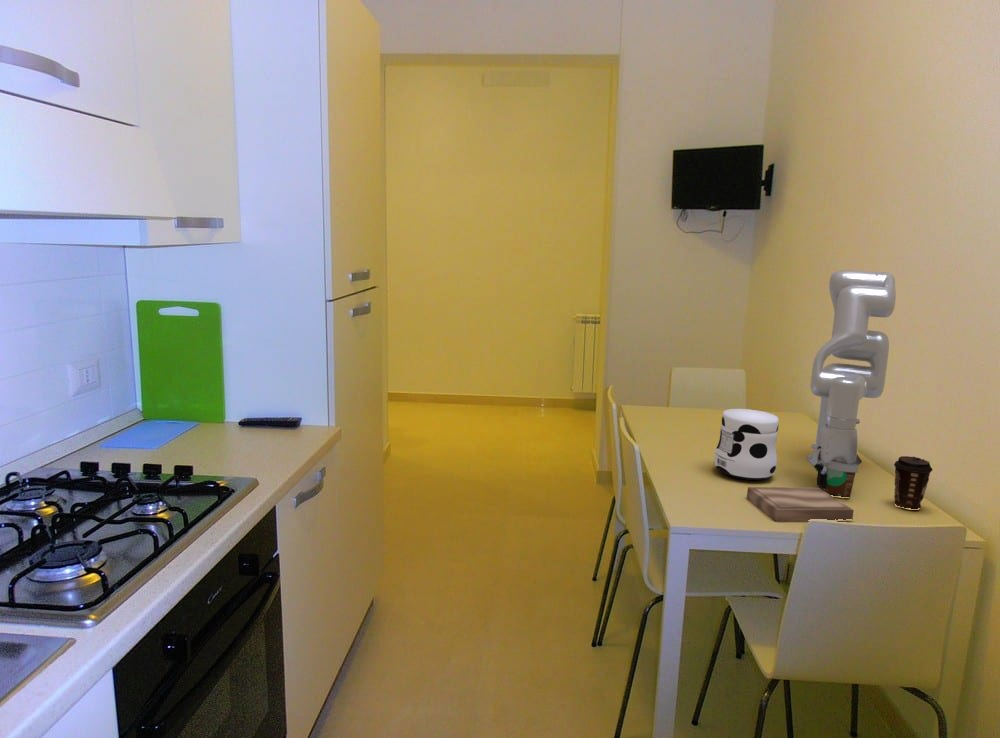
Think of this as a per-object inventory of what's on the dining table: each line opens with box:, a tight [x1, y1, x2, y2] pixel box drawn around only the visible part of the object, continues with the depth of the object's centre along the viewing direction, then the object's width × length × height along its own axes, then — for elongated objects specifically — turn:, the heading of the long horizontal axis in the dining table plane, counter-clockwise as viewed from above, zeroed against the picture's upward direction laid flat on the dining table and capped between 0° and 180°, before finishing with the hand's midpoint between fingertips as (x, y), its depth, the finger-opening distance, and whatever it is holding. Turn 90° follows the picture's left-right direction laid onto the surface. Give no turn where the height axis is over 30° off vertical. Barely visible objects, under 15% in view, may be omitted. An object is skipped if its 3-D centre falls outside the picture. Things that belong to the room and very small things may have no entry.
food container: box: [817, 457, 859, 498], centre depth 200 cm, size 12×6×10 cm, turn 16°
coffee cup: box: [893, 455, 933, 509], centre depth 192 cm, size 9×8×13 cm
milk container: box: [714, 408, 779, 481], centre depth 211 cm, size 17×17×18 cm
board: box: [746, 486, 855, 523], centre depth 187 cm, size 16×20×3 cm
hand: (831, 486), depth 200 cm, fingers closed on food container, 5 cm apart
